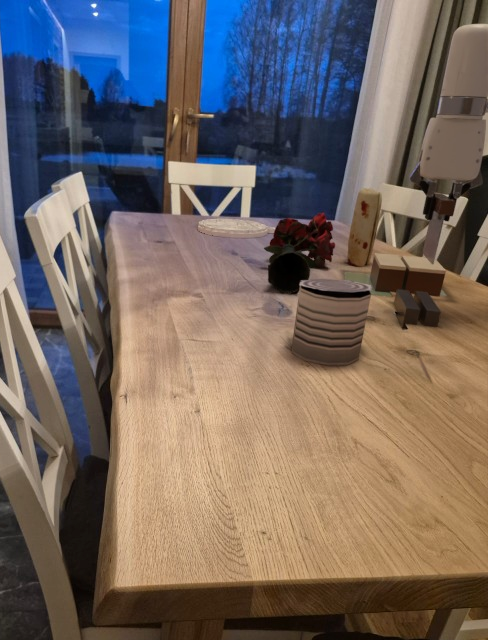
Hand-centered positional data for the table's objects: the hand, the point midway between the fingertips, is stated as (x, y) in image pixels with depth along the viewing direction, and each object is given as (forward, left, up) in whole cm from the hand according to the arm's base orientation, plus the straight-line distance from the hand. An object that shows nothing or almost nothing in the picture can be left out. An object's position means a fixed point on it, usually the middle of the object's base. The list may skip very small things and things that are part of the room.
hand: (436, 218), depth 107 cm
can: (+18, +26, -19) cm, 37 cm away
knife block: (0, +1, -19) cm, 19 cm away
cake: (-4, -22, -18) cm, 29 cm away
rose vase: (+24, -26, -19) cm, 40 cm away
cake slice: (+4, -22, -18) cm, 29 cm away
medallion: (+45, -82, -19) cm, 95 cm away
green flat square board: (+1, -22, -19) cm, 29 cm away
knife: (0, 0, -7) cm, 7 cm away
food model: (+8, -44, -19) cm, 49 cm away
